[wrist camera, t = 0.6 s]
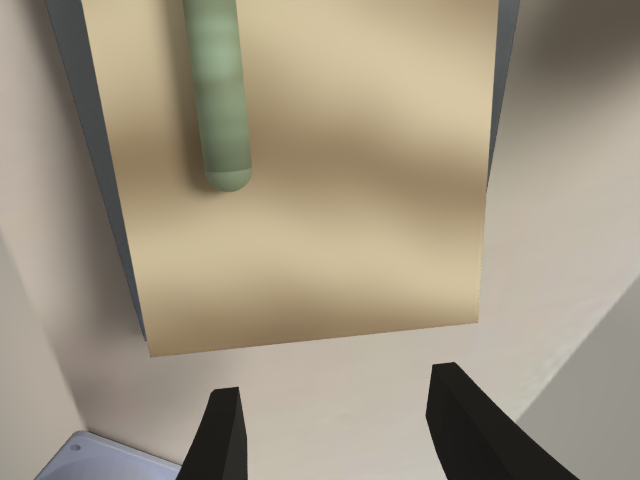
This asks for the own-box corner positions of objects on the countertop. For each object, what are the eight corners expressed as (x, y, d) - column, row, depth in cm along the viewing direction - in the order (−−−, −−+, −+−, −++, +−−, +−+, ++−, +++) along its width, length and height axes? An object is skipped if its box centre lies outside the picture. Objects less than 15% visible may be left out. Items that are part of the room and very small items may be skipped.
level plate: (466, 310, 18) (496, 342, 15) (156, 342, 17) (139, 381, 14) (486, -51, 14) (529, -80, 12) (85, -42, 13) (46, -72, 10)
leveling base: (454, 289, 23) (466, 308, 21) (151, 319, 21) (144, 341, 20) (514, -104, 15) (539, -112, 13) (37, -98, 13) (13, -107, 12)
